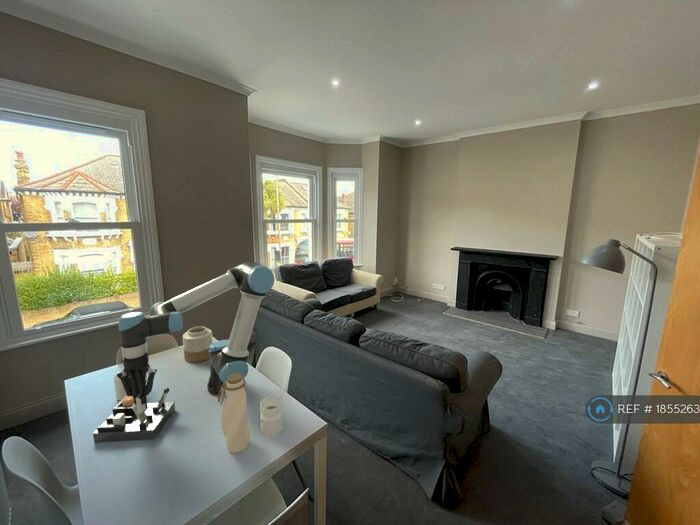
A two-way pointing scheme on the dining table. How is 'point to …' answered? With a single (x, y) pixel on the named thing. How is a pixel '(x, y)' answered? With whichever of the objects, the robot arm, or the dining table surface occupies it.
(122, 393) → the mug
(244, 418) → the water bottle
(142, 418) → the lever
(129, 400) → the button
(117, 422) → the slider
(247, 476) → the dining table surface
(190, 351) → the vase
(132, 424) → the panel
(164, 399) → the lever
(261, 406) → the cream cylinder
